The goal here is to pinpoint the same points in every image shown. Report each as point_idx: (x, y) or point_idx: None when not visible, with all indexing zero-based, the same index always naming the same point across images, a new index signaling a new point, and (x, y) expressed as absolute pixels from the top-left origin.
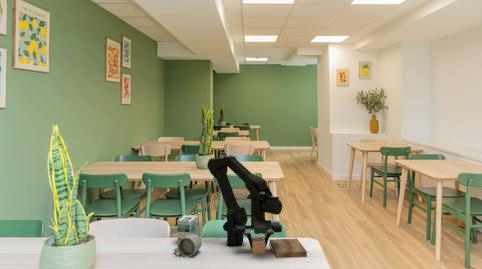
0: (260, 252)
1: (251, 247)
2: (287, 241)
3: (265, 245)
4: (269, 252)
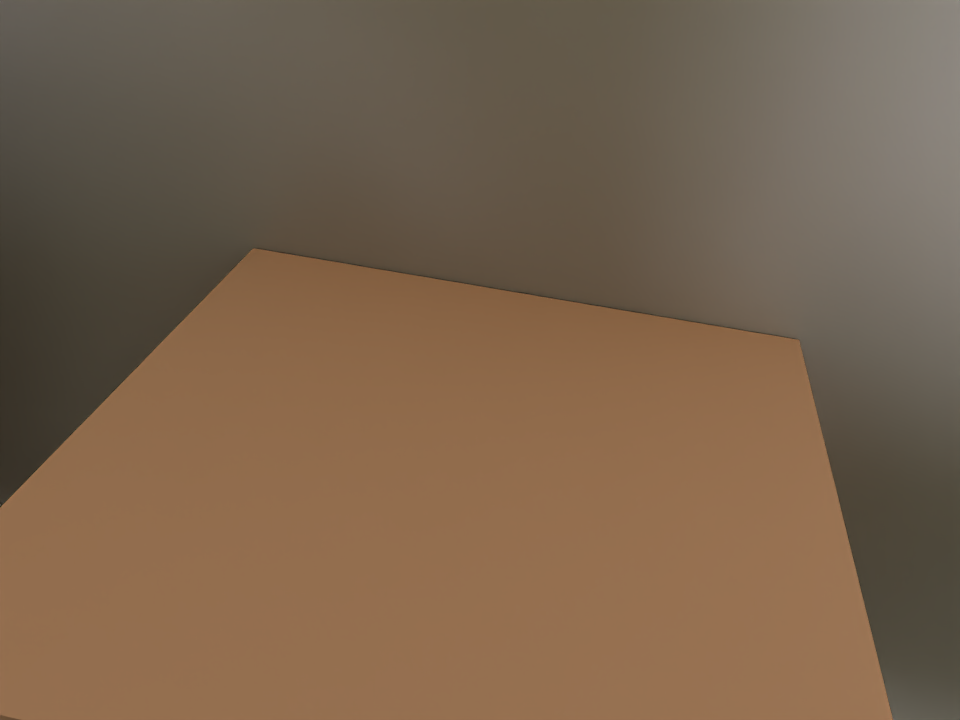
0: (444, 298)
1: None
2: None
3: None
4: (78, 270)
